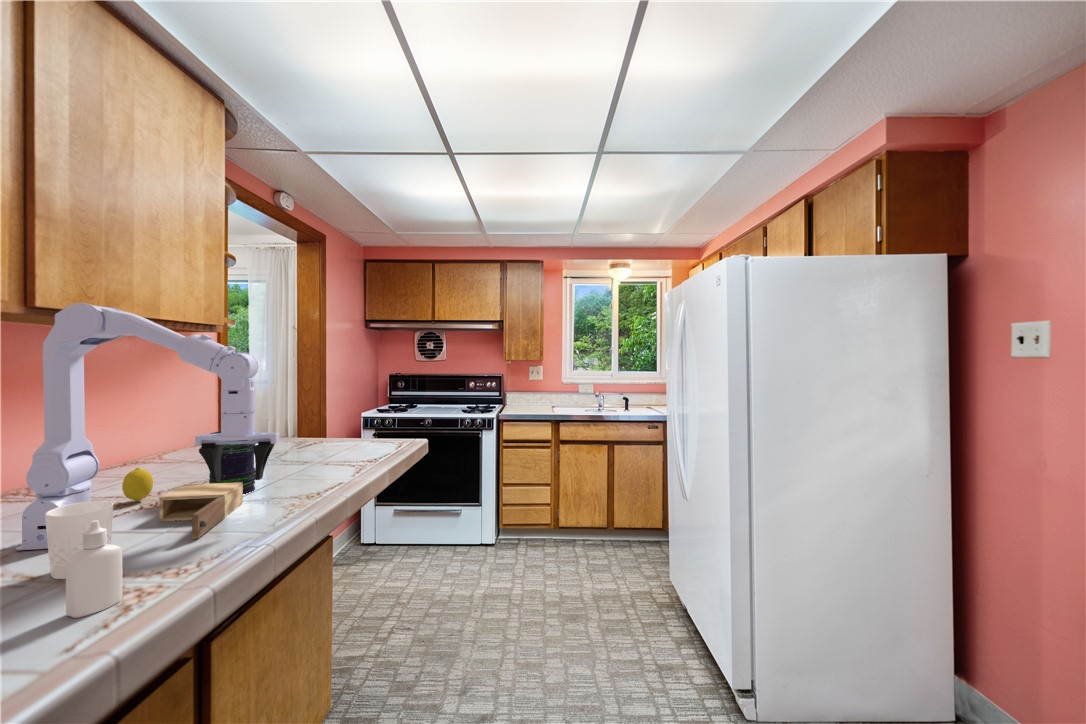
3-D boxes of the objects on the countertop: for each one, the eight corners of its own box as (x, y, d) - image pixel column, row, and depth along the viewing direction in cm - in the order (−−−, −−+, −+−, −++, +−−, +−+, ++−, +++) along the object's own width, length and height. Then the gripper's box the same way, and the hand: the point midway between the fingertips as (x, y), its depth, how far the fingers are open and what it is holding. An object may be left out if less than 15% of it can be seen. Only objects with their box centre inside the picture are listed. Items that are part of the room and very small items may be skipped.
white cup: (122, 557, 83) (122, 498, 83) (99, 577, 76) (99, 513, 75) (62, 563, 80) (62, 503, 80) (33, 585, 73) (32, 518, 73)
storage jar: (234, 498, 116) (234, 436, 116) (198, 496, 118) (198, 435, 118) (264, 487, 126) (264, 430, 126) (231, 485, 128) (231, 429, 128)
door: (229, 517, 103) (229, 495, 103) (203, 538, 91) (203, 514, 91) (220, 517, 103) (220, 496, 102) (192, 539, 91) (192, 514, 90)
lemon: (159, 498, 116) (159, 465, 116) (137, 506, 110) (137, 471, 110) (138, 498, 116) (138, 464, 116) (115, 505, 111) (115, 470, 111)
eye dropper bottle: (68, 608, 66) (68, 520, 66) (123, 595, 70) (123, 512, 70) (63, 622, 63) (63, 530, 63) (121, 608, 66) (121, 521, 66)
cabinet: (224, 517, 103) (224, 494, 103) (159, 521, 100) (159, 497, 100) (242, 503, 113) (242, 482, 113) (183, 506, 110) (183, 484, 110)
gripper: (283, 409, 103) (283, 473, 103) (206, 410, 100) (206, 476, 100) (272, 413, 96) (272, 481, 96) (189, 415, 93) (189, 485, 93)
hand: (238, 479), depth 98 cm, fingers open, 7 cm apart
